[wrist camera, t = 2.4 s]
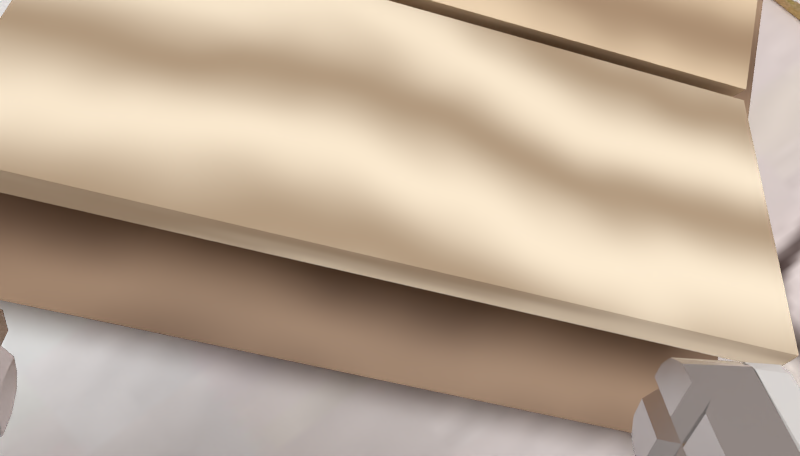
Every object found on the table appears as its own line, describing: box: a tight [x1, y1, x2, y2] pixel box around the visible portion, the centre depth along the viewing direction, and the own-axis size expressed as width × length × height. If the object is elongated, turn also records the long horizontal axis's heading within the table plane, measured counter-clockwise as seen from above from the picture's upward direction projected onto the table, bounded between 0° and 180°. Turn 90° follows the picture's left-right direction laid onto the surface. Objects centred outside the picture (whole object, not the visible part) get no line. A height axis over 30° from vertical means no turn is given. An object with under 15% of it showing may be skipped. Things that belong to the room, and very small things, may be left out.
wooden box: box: [0, 0, 763, 433], centre depth 32 cm, size 22×30×5 cm
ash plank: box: [0, 0, 799, 366], centre depth 27 cm, size 12×28×1 cm, turn 77°
